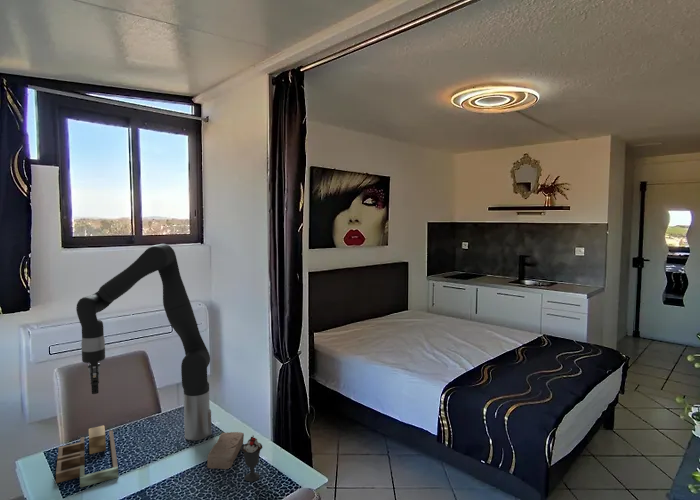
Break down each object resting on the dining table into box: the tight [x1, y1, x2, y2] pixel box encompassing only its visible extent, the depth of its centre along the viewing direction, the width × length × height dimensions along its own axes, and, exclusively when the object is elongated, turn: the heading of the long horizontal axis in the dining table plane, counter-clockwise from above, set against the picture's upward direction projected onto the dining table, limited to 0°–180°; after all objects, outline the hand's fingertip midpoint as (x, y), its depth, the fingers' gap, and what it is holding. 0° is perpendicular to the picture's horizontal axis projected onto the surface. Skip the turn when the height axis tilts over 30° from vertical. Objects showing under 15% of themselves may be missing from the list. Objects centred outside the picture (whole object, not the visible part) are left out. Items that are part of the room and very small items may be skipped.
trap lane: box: [55, 430, 119, 488], centre depth 145 cm, size 17×29×3 cm, turn 32°
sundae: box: [240, 435, 263, 483], centre depth 138 cm, size 7×7×15 cm
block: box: [88, 425, 107, 455], centre depth 155 cm, size 5×8×6 cm, turn 32°
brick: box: [206, 431, 245, 470], centre depth 151 cm, size 17×8×5 cm, turn 178°
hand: (95, 392), depth 162 cm, fingers closed
